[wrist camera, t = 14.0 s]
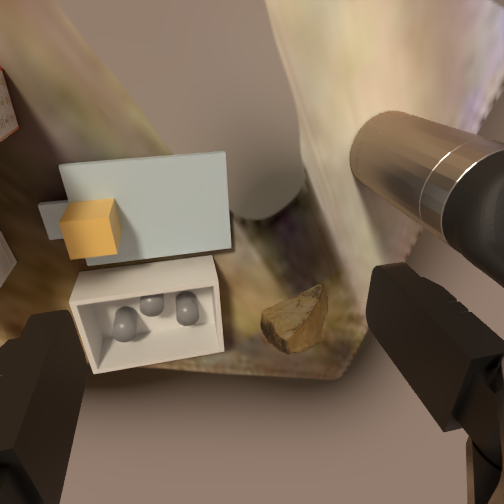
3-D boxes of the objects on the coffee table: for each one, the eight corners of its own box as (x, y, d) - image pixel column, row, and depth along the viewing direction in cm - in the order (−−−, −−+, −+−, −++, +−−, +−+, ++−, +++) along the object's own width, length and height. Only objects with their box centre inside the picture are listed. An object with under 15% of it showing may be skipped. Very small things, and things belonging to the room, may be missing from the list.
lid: (222, 147, 41) (233, 166, 35) (228, 240, 47) (238, 269, 41) (31, 163, 38) (7, 186, 32) (63, 260, 43) (48, 295, 37)
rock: (337, 272, 50) (268, 287, 47) (360, 334, 47) (289, 354, 44) (309, 297, 60) (251, 310, 57) (327, 349, 57) (267, 366, 54)
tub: (212, 254, 47) (218, 280, 42) (218, 321, 53) (224, 351, 48) (79, 271, 44) (68, 301, 39) (100, 340, 50) (93, 374, 45)
